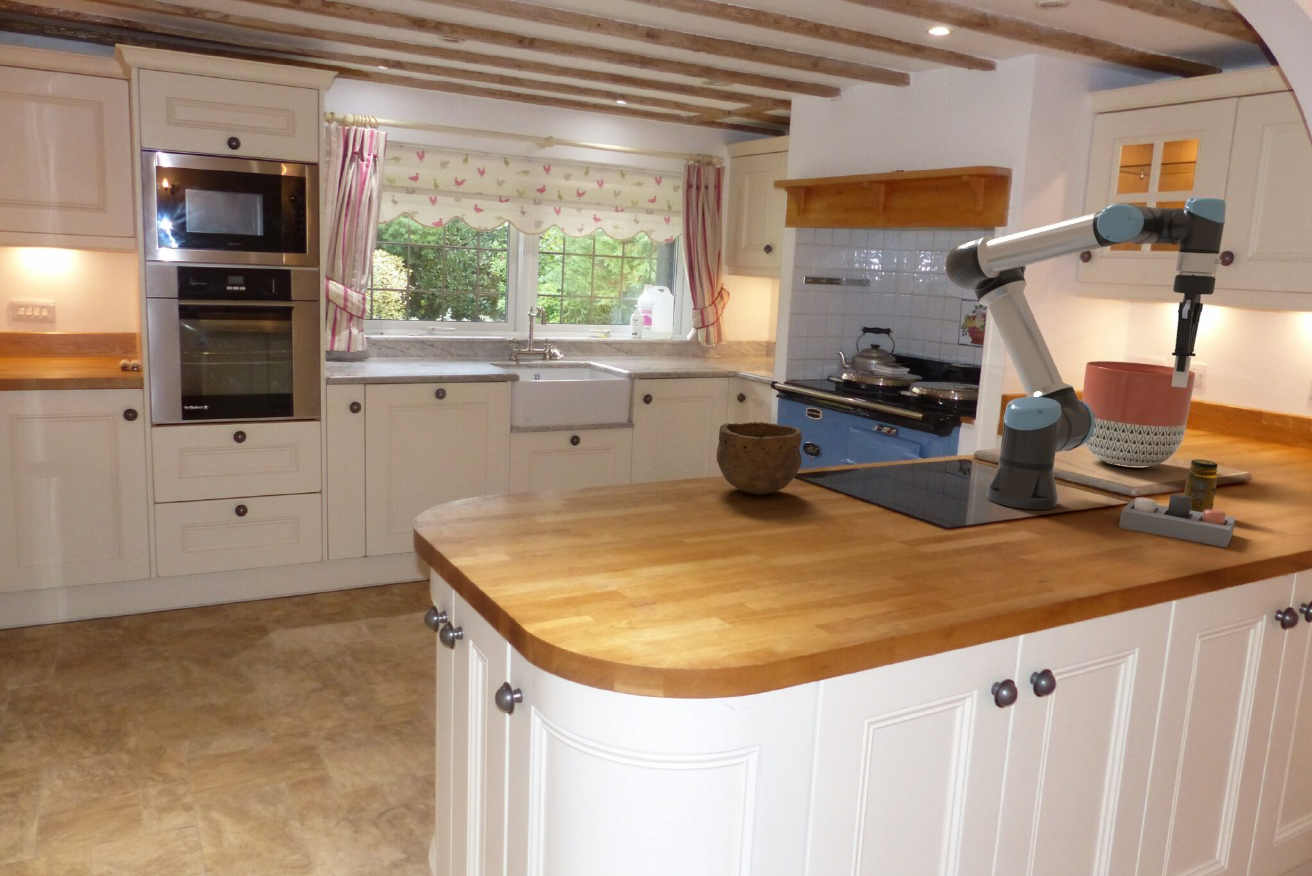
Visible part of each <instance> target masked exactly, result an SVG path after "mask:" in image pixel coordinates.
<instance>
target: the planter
mask: <svg viewBox="0 0 1312 876" xmlns="http://www.w3.org/2000/svg"><path fill="white" fill-rule="evenodd" d="M1084 370H1085V372H1084V377H1083V379H1084V380H1083V388H1082V389H1083V390H1082V395H1081V401H1083V402H1085V403H1086V404H1088V405H1089V406H1090V408H1091V409H1092V411H1093V413H1094V416H1095V429H1094V432H1093V434H1092V436H1091V438H1090V439H1089V440H1088V441H1087V442H1086V443H1085V444H1084V447H1086V448H1087V450H1088V451H1089V452H1090V453H1091V454H1092V455H1094V457H1096V458H1097V459H1098V460H1099V461H1101V460H1102V461H1101V462H1103V461H1105V462H1109V463H1112V464H1120V465H1127V466H1152V467H1155V466H1158V465H1159V464H1162V463H1164V462H1166V461H1167V460H1168V459H1170V458H1172V456H1174V455H1175V454H1176V452H1177V451H1178V449H1179V448H1180V446H1181V445H1182V441H1183V439H1184V436H1185V433H1186V428H1187V424H1188V420H1189V419H1188V418H1189V413H1190V406H1191V402H1192V395H1193V391H1194V387H1195V386H1194V384H1195V378H1196V372H1194V371H1192V370H1189V375H1188V381H1187V387H1186V388H1182V387H1173V386H1171V385H1172V378H1173V372H1174V366H1166V365H1159V364H1149V363H1140V362H1128V361H1109V360H1101V361H1100V360H1097V361H1095V360H1094V361H1088V362H1086V364H1085V369H1084ZM1105 462H1104V463H1105Z"/></svg>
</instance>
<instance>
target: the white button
mask: <svg viewBox="0 0 1312 876" xmlns="http://www.w3.org/2000/svg"><path fill="white" fill-rule="evenodd" d="M1134 501H1135V505H1134V509H1135V510H1141V511H1147V512H1152V513H1155V506H1156V504H1157V500H1156V499H1152V498H1149V497H1141V496H1140V497H1135V499H1134Z"/></svg>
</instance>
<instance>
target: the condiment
mask: <svg viewBox="0 0 1312 876" xmlns="http://www.w3.org/2000/svg"><path fill="white" fill-rule="evenodd" d="M1190 463H1191V464H1190V466H1189V470H1188V472H1187V475H1186V480H1185V484H1184V485H1185V486H1184V491H1183V495H1186V496H1190V497H1192V501H1191V507H1190V510H1191V511H1197V512H1204V509H1213V507H1214V502H1215V495H1216V489H1217V485H1218V484H1217V482H1218V476H1219V475H1217V472H1218V466H1219V465H1218V463H1217V462H1215V461H1211V460H1207V459H1192V460H1191V462H1190Z"/></svg>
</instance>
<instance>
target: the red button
mask: <svg viewBox="0 0 1312 876" xmlns="http://www.w3.org/2000/svg"><path fill="white" fill-rule="evenodd" d="M1226 514H1227V512H1225V511H1222V510H1219V509H1213V508H1212V509H1204V512H1203V518H1202V521H1203V522H1209V523H1214V524H1220V525H1224V521H1225V516H1227V515H1226Z"/></svg>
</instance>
